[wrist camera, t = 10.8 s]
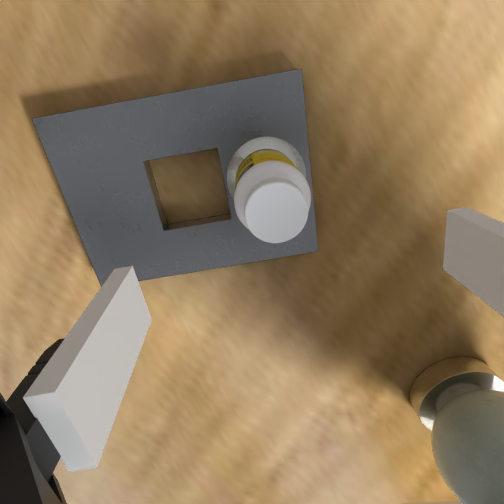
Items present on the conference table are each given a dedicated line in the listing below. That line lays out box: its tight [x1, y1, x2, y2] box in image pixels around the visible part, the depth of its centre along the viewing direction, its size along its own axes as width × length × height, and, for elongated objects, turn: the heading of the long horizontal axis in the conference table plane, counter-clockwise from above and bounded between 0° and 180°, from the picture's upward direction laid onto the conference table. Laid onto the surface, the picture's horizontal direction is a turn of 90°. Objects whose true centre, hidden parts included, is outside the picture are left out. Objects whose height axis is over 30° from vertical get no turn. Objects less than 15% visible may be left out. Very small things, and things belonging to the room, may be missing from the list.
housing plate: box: [32, 69, 318, 287], centre depth 30 cm, size 22×16×2 cm
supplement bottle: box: [234, 149, 311, 243], centre depth 25 cm, size 5×5×10 cm
